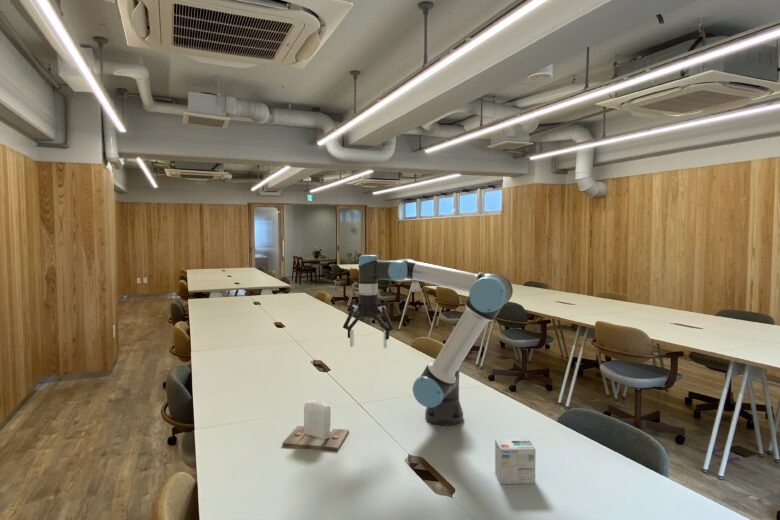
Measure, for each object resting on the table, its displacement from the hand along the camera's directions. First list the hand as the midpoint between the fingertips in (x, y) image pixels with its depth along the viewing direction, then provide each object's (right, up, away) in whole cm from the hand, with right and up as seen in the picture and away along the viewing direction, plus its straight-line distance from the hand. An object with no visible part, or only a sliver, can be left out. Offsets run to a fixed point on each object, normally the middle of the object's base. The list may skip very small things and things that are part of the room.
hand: (368, 346), depth 174 cm
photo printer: (-17, -28, -18) cm, 38 cm away
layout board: (-18, -30, -18) cm, 39 cm away
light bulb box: (+46, -31, -43) cm, 70 cm away
